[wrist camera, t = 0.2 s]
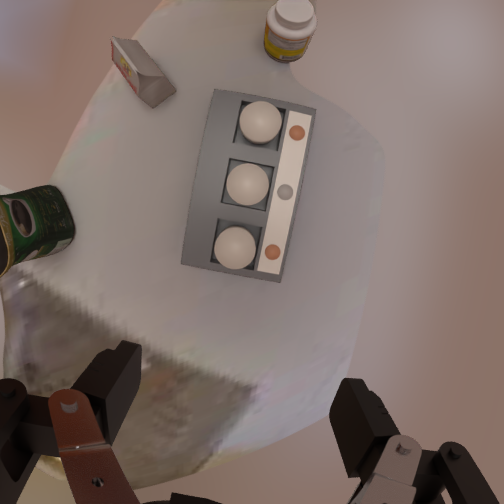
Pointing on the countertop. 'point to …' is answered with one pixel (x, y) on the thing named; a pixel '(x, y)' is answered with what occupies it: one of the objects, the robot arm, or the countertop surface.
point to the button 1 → (235, 247)
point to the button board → (257, 215)
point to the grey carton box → (140, 71)
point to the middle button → (247, 184)
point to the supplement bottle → (289, 29)
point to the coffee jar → (32, 225)
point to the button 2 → (260, 122)
